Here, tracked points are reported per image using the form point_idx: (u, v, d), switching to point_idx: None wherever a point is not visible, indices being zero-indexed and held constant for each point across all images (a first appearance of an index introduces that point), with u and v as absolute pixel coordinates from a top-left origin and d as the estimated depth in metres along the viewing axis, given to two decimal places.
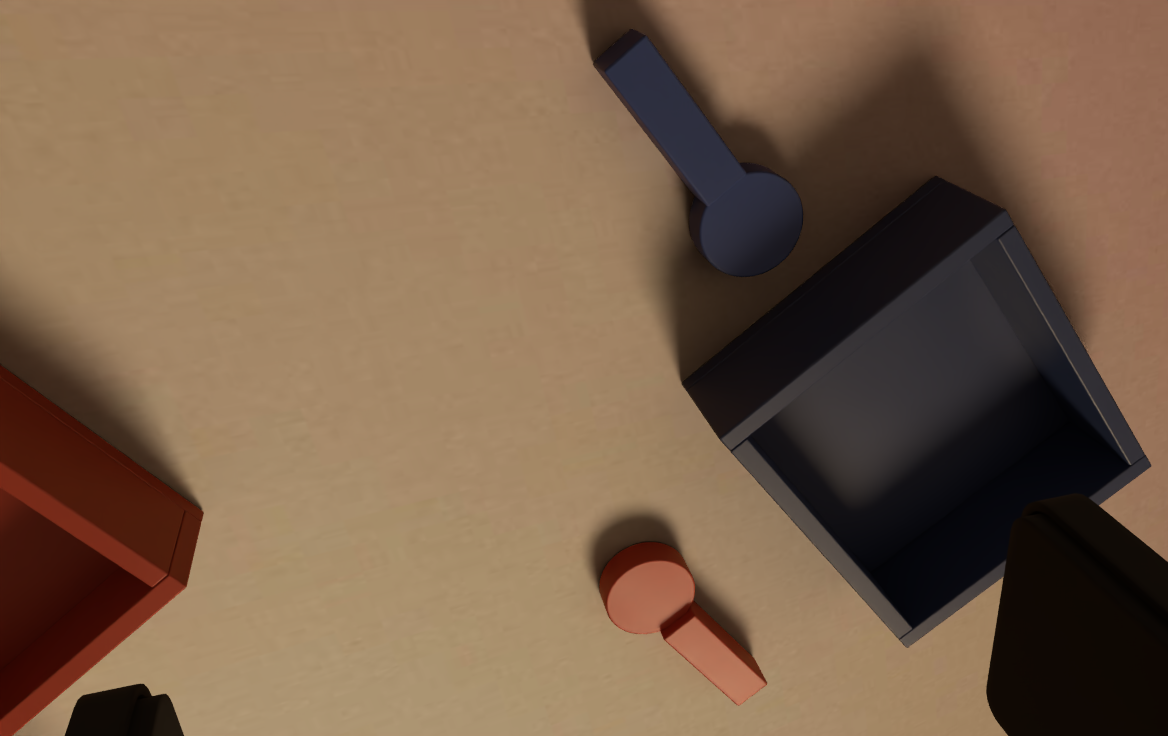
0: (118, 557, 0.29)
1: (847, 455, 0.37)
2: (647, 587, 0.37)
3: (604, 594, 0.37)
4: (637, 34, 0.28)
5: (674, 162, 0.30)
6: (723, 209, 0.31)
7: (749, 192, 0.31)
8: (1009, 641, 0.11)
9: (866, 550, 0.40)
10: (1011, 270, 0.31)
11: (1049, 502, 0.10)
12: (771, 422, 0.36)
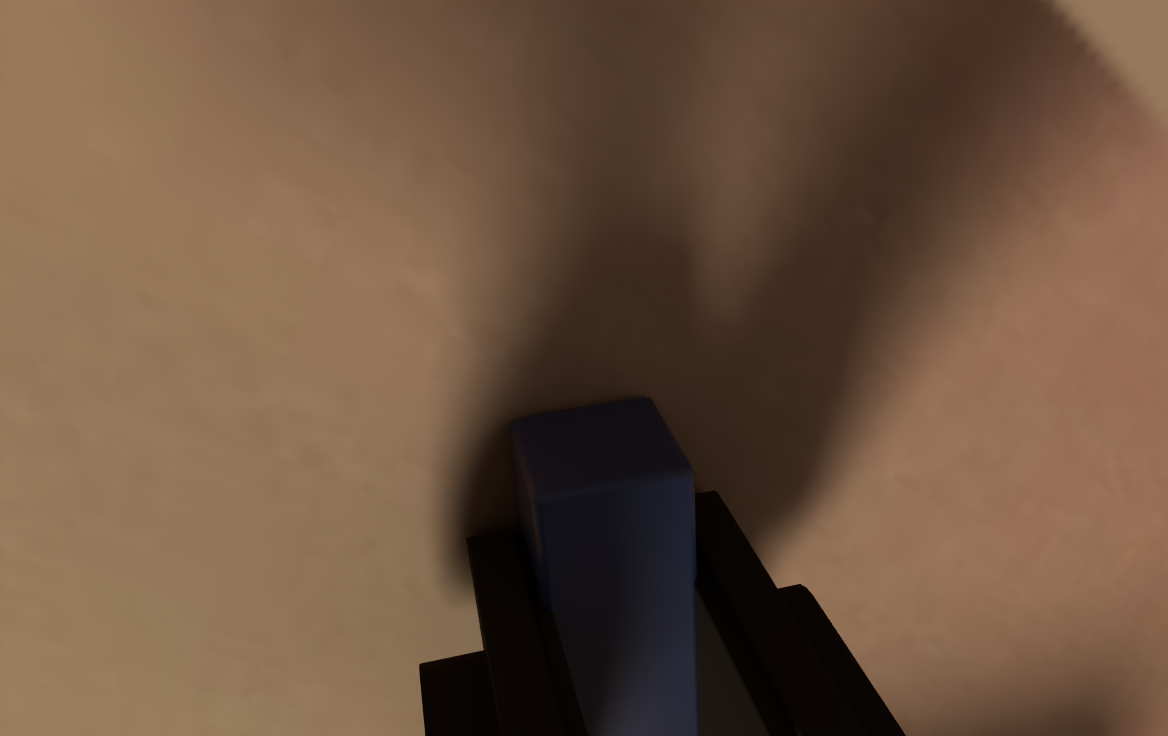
0: None
1: None
2: None
3: None
4: (667, 442, 0.10)
5: None
6: None
7: None
8: None
9: None
10: None
11: None
12: None
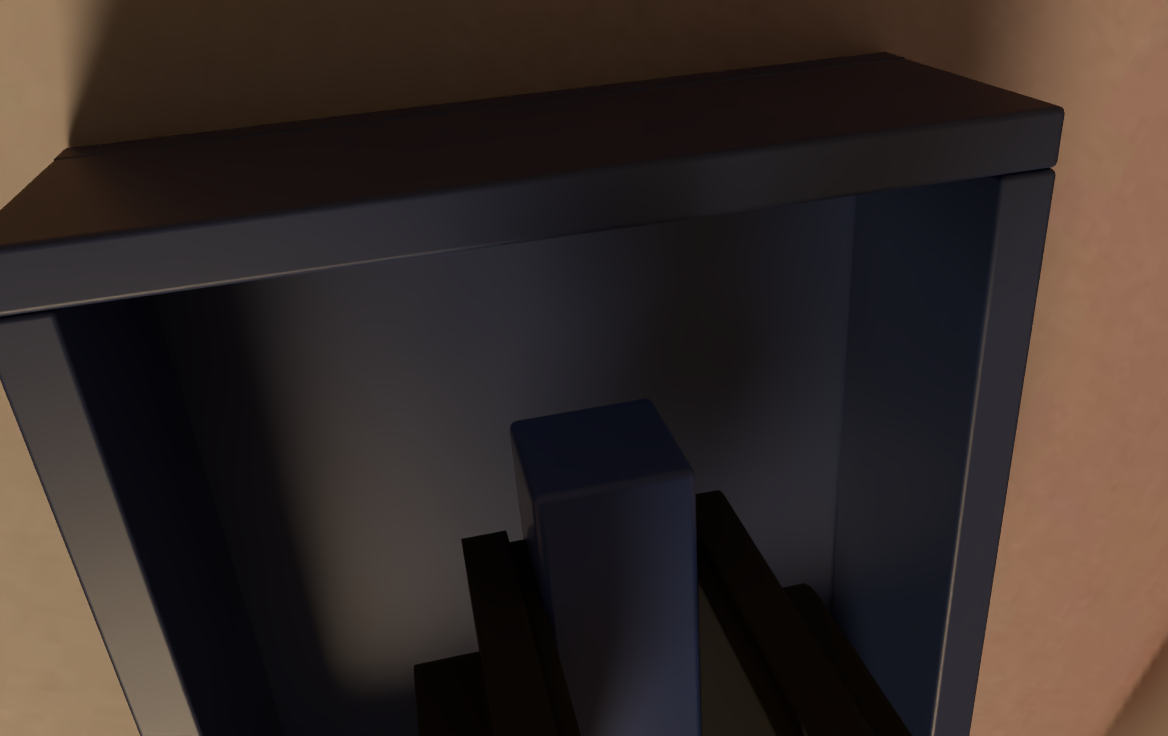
0: None
1: (387, 563, 0.16)
2: None
3: None
4: (667, 443, 0.10)
5: None
6: None
7: None
8: None
9: None
10: (971, 296, 0.12)
11: None
12: (249, 385, 0.14)
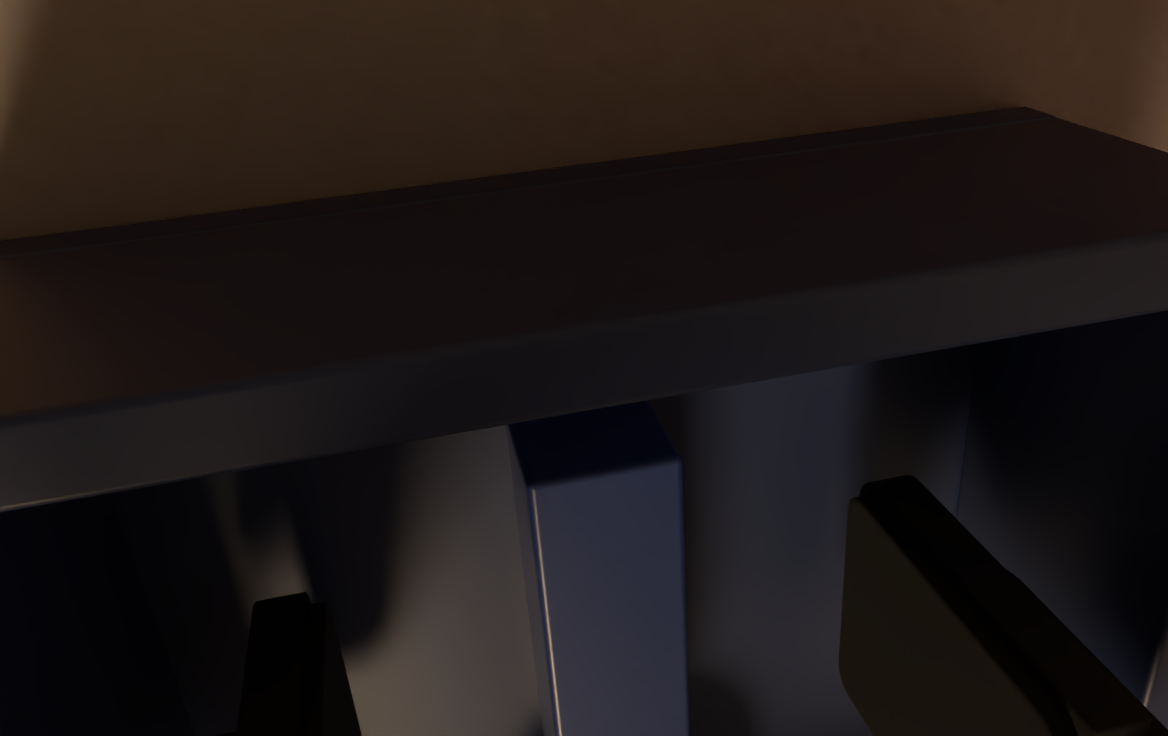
0: None
1: None
2: None
3: None
4: (656, 431, 0.10)
5: None
6: None
7: None
8: (851, 616, 0.12)
9: None
10: None
11: (879, 483, 0.11)
12: (216, 537, 0.11)
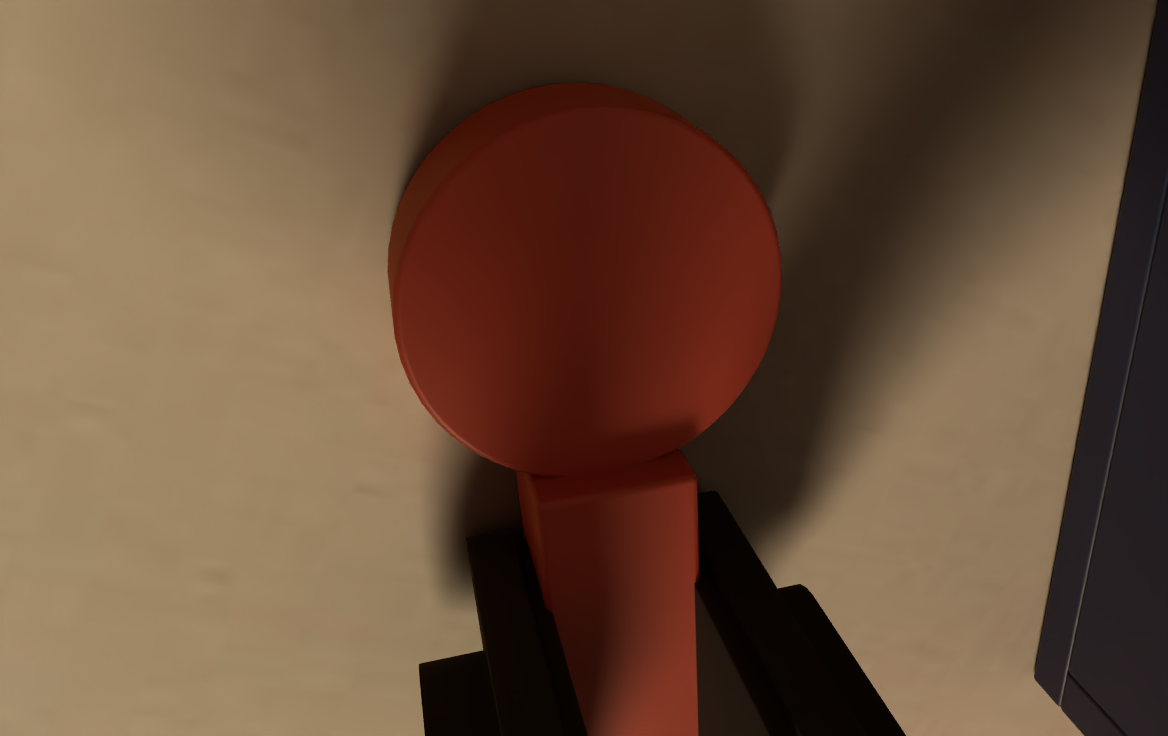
0: None
1: None
2: (615, 251, 0.09)
3: (433, 179, 0.08)
4: None
5: None
6: None
7: None
8: None
9: None
10: None
11: None
12: None
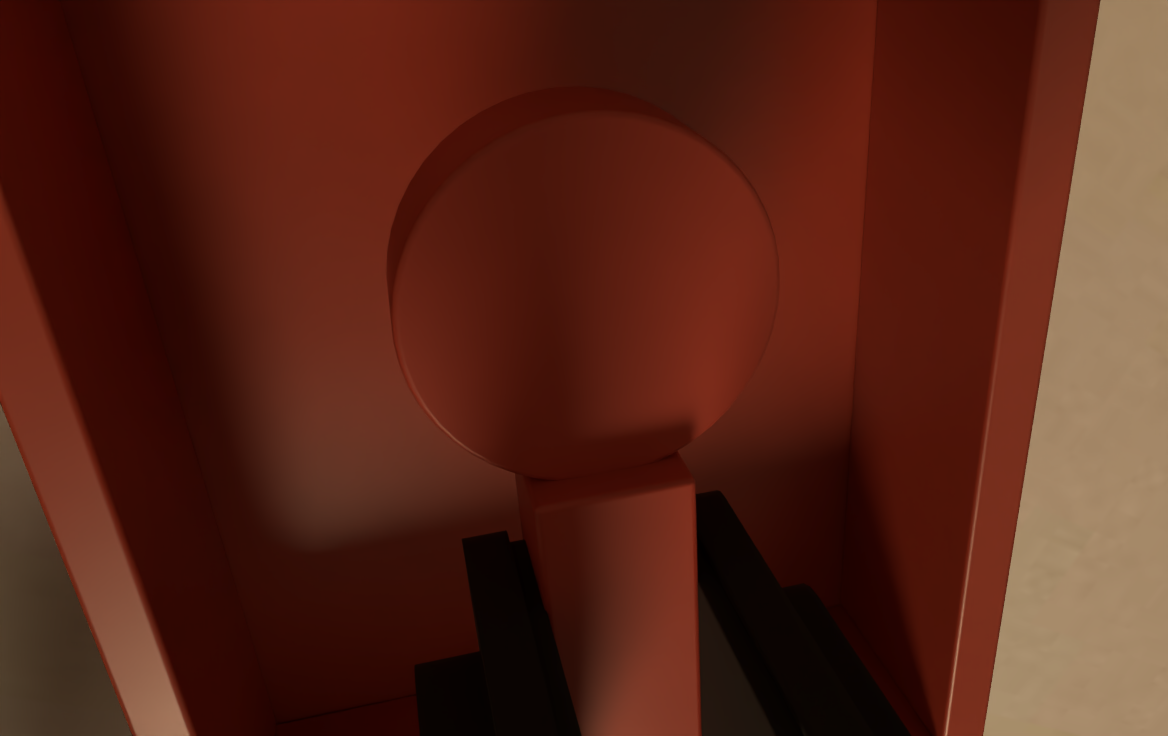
0: (966, 678, 0.14)
1: None
2: (613, 254, 0.09)
3: (431, 183, 0.08)
4: None
5: None
6: None
7: None
8: None
9: None
10: None
11: None
12: None
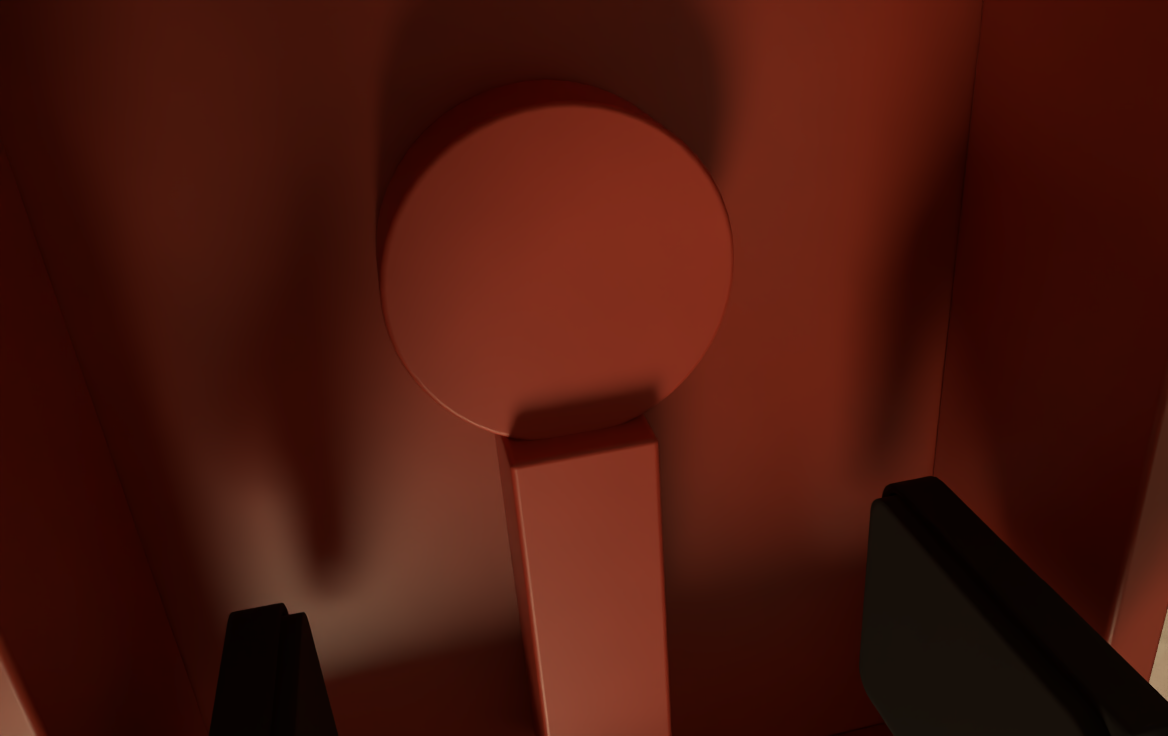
0: None
1: None
2: (581, 232, 0.09)
3: (415, 166, 0.09)
4: None
5: None
6: None
7: None
8: (873, 618, 0.12)
9: None
10: None
11: (903, 484, 0.11)
12: None
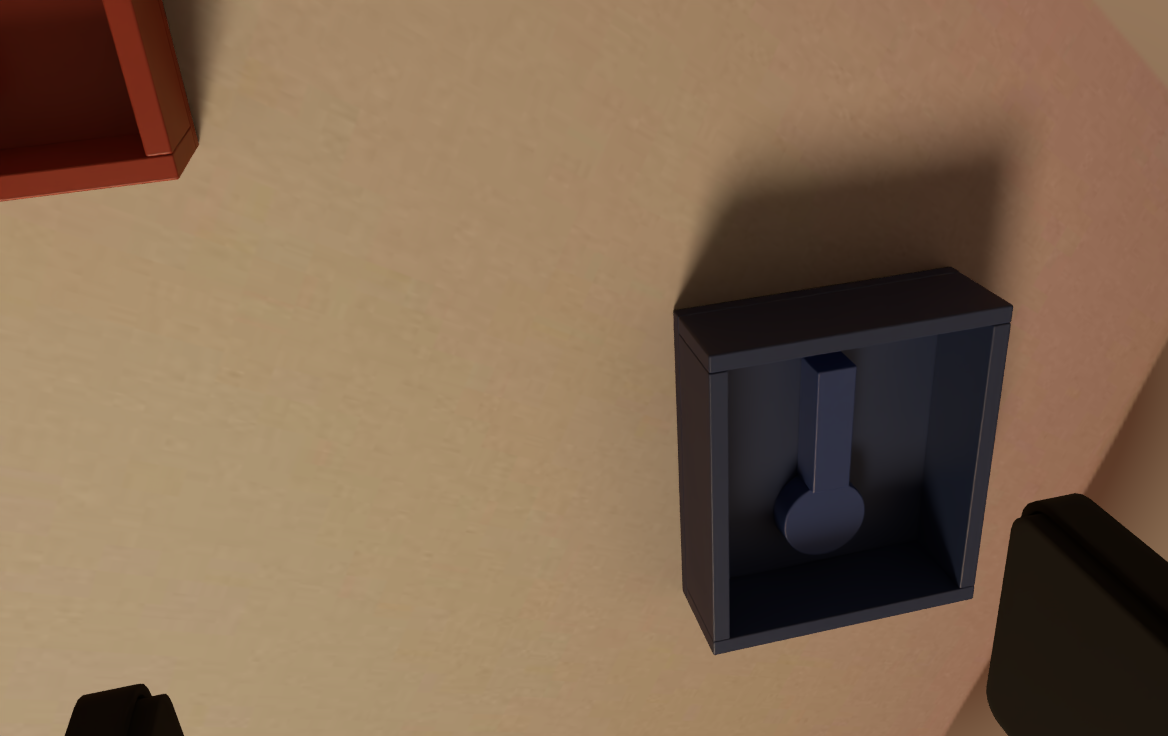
0: (140, 102, 0.26)
1: (752, 461, 0.39)
2: None
3: None
4: (848, 359, 0.37)
5: (814, 453, 0.38)
6: (816, 499, 0.39)
7: (839, 497, 0.40)
8: (1009, 641, 0.11)
9: None
10: (983, 361, 0.36)
11: (1049, 502, 0.10)
12: None
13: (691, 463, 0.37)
